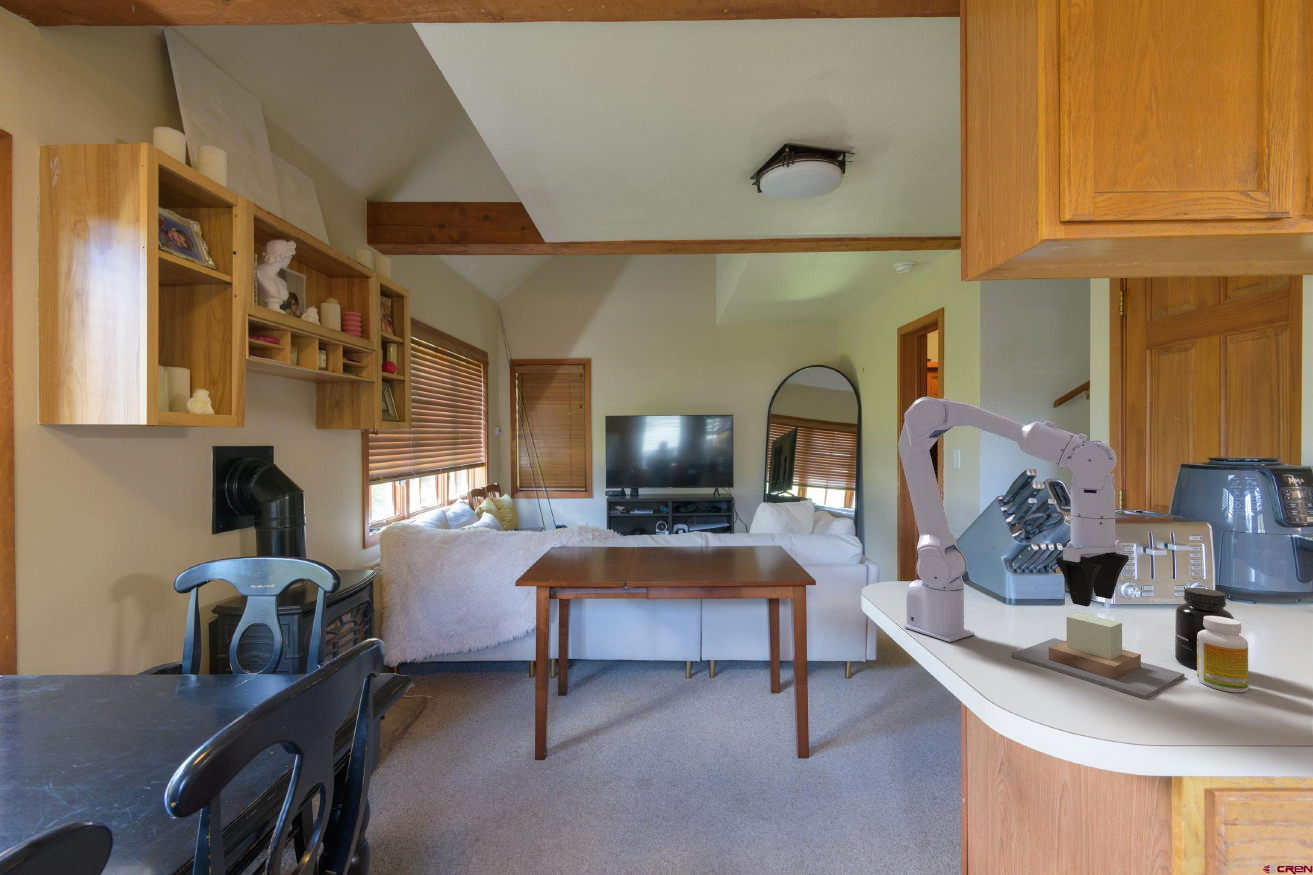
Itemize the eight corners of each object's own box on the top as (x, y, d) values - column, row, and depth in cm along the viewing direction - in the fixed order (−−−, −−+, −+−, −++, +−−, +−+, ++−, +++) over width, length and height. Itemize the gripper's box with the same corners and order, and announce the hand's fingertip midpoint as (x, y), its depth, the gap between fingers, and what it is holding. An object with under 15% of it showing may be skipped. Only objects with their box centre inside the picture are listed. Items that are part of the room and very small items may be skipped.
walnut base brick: (1048, 659, 94) (1048, 647, 93) (1075, 648, 98) (1075, 636, 98) (1114, 679, 86) (1114, 666, 86) (1140, 666, 90) (1140, 654, 90)
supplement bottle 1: (1165, 661, 94) (1165, 588, 94) (1188, 654, 96) (1188, 583, 96) (1220, 677, 87) (1220, 599, 87) (1243, 670, 90) (1243, 593, 90)
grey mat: (1011, 656, 96) (1011, 653, 96) (1054, 640, 103) (1054, 637, 103) (1144, 699, 81) (1144, 695, 81) (1184, 676, 88) (1184, 673, 88)
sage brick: (1066, 647, 93) (1066, 616, 93) (1078, 642, 95) (1078, 612, 95) (1110, 659, 88) (1110, 627, 88) (1122, 654, 90) (1122, 622, 90)
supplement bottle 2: (1258, 695, 82) (1259, 626, 82) (1214, 691, 83) (1214, 624, 83) (1229, 679, 87) (1229, 614, 87) (1188, 676, 88) (1188, 613, 88)
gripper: (1100, 523, 85) (1100, 615, 85) (1143, 515, 92) (1143, 600, 92) (1048, 517, 91) (1048, 603, 91) (1092, 510, 98) (1092, 589, 98)
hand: (1092, 600), depth 92 cm, fingers open, 7 cm apart
